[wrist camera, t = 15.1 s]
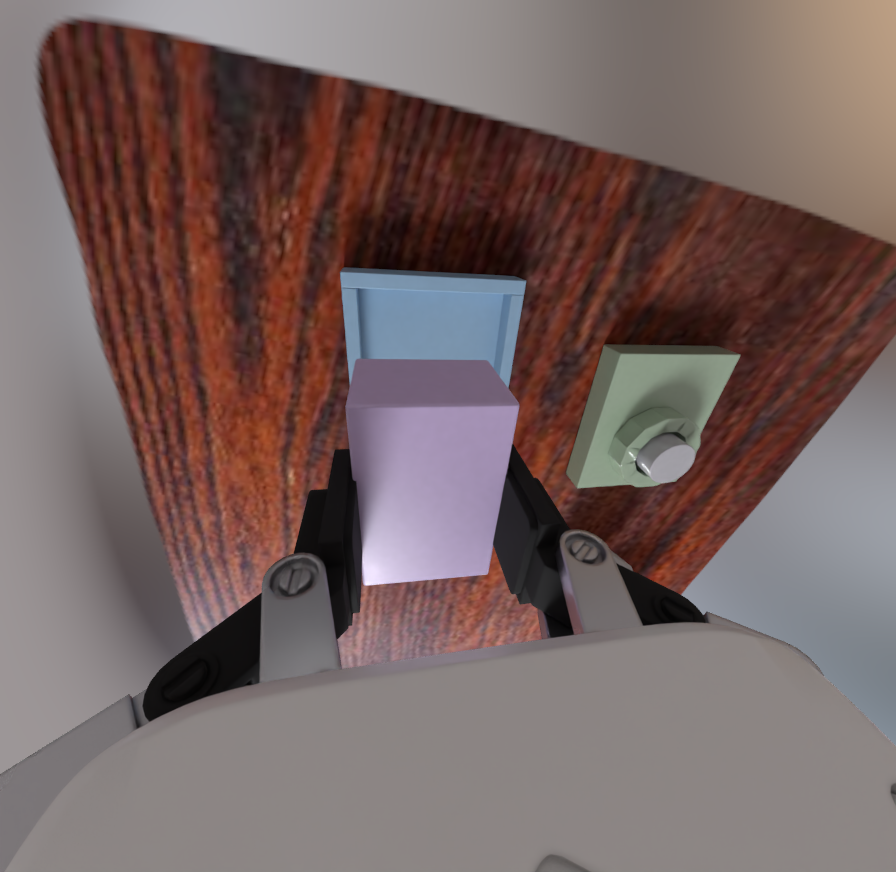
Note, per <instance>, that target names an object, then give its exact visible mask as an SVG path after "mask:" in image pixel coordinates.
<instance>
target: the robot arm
mask: <svg viewBox="0 0 896 872" xmlns="http://www.w3.org/2000/svg"><path fill="white" fill-rule="evenodd" d="M493 545H494V548H495V551H496V554H497V557H498V559H499V562H500V565H501V568H502V570H503V573H504V576H505V579H506V582H507V584H508V587H509V590H510V592H511V594H516V595H517V598H518V601H519V604H527V603H531V604H532V605H533V606H534V607H536V608H538V618H539V624H540V630H541V636H542V640H535V641H528V642H521V643H514V644H507V645H500V646H493V647H486V648H479V649H473V650H466V651H459V652H452V653H445V654H438V655H432V656H425V657H418V658H412V659H405V660H399V661H392V662H385V663H379V664H372V665H365V666H359V667H352V668H346V669H342V667H341V660H340V654H339V647H338V641H337V639H338V638H339V637H340V636H341V635H342V634H343V633H344V632H345V631H346V630H347V629H348V626H350V625H352V618H353V613H359V612H360V598H361V575H362V542H361V530H360V518H359V506H358V494H357V482H356V481H354V480H353V478H352V468H351V458H350V449H340V450H335V452H334V458H333V463H332V469H331V474H330V479H329V485H328V489H323V490H311V491H310V492H309V495H308V499H307V503H306V507H305V511H304V515H303V519H302V523H301V527H300V531H299V535H298V539H297V543H296V547H295V551H294V554H291V555H289V556H286V557H283V558H282V559H280V560H279V561H277V562H275V563H274V564H273V565H272V566H271V567H270V568H269V569H268V571H267V572H266V574H265V576H264V578H263V582H262V593H261V594H259V595H258V596H257V597H255V598H254V599H252V600H251V601H250V602H248V603H247V604H246V605H244V606H243V607H242V608H240V609H239V610H238V611H236V612H235V613H234V614H232V615H231V616H229V617H228V618H227V619H225V620H224V621H223V622H221V623H220V624H219V625H217V626H216V627H215V628H213V629H212V630H211V631H209V632H208V633H206V634H205V635H204V636H202V637H201V638H200V639H198V640H197V641H196V642H194V643H193V644H192V645H190V646H189V647H188V648H186V649H185V650H184V651H182V652H181V653H179V654H178V655H177V656H175V657H174V658H173V659H171V660H170V661H169V662H168V663H167V664H166V665H165V666H163V667H162V668H161V669H160V670H159V672H158V673H157V674H156V675H155V677H154V678H153V679H152V681H151V682H150V684H149V686H148V688H147V689H146V690H144V691H143V692H141V693H139V694H138V695H136V696H135V697H133V698H132V697H131V696H130V695H129V694H128V695H127V696H125V697H124V698H122V699H120V700H119V701H117V702H116V703H114V704H112V705H111V706H109V707H107V708H106V709H104V710H103V711H101V712H100V713H98V714H96V715H95V716H93V717H91V718H90V719H88V720H87V721H85V722H83V723H82V724H80V725H79V726H77V727H75V728H74V729H72V730H71V731H69V732H67V733H66V734H64V735H63V736H61V737H59V738H58V739H56V740H55V741H53V742H51V743H50V744H48V745H46V746H45V747H43V748H42V749H40V750H38V751H37V752H35V753H34V754H32V755H30V756H29V757H27V758H26V759H24V760H22V761H21V762H19V763H18V764H16V765H14V766H13V767H11V768H10V769H8V770H6V771H5V772H3V773H2V774H0V872H896V746H895V745H894V744H893V743H892V742H891V741H890V740H889V739H888V738H887V737H886V736H885V735H884V734H883V733H882V732H881V731H880V730H879V729H878V728H877V727H876V726H875V725H874V724H873V723H872V722H871V721H870V720H869V719H868V718H867V717H866V716H865V715H864V714H863V713H862V712H861V711H860V710H859V709H858V708H857V707H856V706H855V705H854V704H853V703H852V702H851V701H850V700H849V699H848V698H847V697H846V696H845V695H843V694H842V693H841V692H840V691H839V690H838V689H837V688H836V687H835V686H834V685H832V684H831V682H829V681H828V680H827V679H826V678H825V677H824V675H823V674H822V672H821V670H820V669H819V667H818V666H817V665H816V664H815V663H814V662H813V661H812V660H811V659H810V658H809V657H808V656H807V655H805V654H804V653H803V652H801V651H800V650H799V649H797V648H796V647H793V646H792V645H790V644H788V643H786V642H783V641H781V640H778V639H776V638H773V637H771V636H768V635H766V634H763V633H760V632H758V631H755V630H752V629H750V628H748V627H745V626H742V625H740V624H737V623H735V622H732V621H730V620H727V619H725V618H722V617H720V616H717V615H714V614H712V613H709V612H706V613H705V615H702V613H701V612H700V611H699V610H698V608H697V607H696V606H695V605H694V604H693V603H691V602H690V601H689V600H688V599H686V598H685V597H683V596H682V595H680V594H678V593H676V592H674V591H672V590H670V589H668V588H666V587H664V586H662V585H660V584H658V583H656V582H654V581H652V580H650V579H648V578H646V577H644V576H642V575H640V574H638V573H636V572H634V571H632V570H630V569H627V568H625V567H623V566H621V565H619V564H617V563H616V562H615V560H614V557H613V555H612V553H611V550H610V549H609V547H608V546H607V544H606V543H605V542H604V541H603V540H602V539H601V538H599V537H598V536H596V535H595V534H593V533H590V532H588V531H584V530H579V529H573V530H570V529H569V527H568V525H567V524H566V522H565V521H564V519H563V517H562V516H561V514H560V513H559V511H558V509H557V508H556V506H555V505H554V503H553V501H552V500H551V498H550V497H549V495H548V494H547V492H546V490H545V489H544V487H543V486H542V484H541V482H540V481H539V480H538V479H537V478H533V476H532V474H531V473H530V471H529V470H528V468H527V466H526V465H525V463H524V461H523V460H522V458H521V456H520V455H519V453H518V452H517V450H516V448H515V447H514V445H513V444H512V448H511V453H510V458H509V464H508V469H507V474H506V478H505V483H504V488H503V493H502V498H501V504H500V509H499V514H498V519H497V524H496V529H495V535H494V540H493Z"/></svg>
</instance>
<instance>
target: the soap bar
mask: <svg viewBox="0 0 896 872" xmlns="http://www.w3.org/2000/svg"><path fill="white" fill-rule="evenodd" d="M345 408H346V418H347V428H348V438H349V448H350V458H351V468H352V478H353V480H354V481H356V482H357V494H358V506H359V518H360V530H361V542H362V578H363V584H364V585H377V584H388V583H399V582H410V581H420V580H431V579H442V578H453V577H464V576H475V575H486V574H488V570H489V565H490V560H491V554H492V549H493V540H494V535H495V529H496V524H497V519H498V514H499V509H500V504H501V498H502V493H503V488H504V483H505V478H506V474H507V469H508V464H509V458H510V453H511V448H512V442H513V437H514V432H515V426H516V421H517V416H518V410H519V403H518V401H517V400H516V398H515V397H514V396H513V394H512V393H511V392H510V390H509V389H508V387H507V386H506V385H505V383H504V382H503V381H502V379H501V378H500V377H499V375H498V374H497V372H496V371H495V370H494V368H493V367H492V366H491V364H490V363H489V361H487V360H424V359H356V361H355V365H354V370H353V375H352V379H351V384H350V389H349V393H348V398H347V403H346V407H345Z"/></svg>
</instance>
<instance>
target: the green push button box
mask: <svg viewBox="0 0 896 872" xmlns="http://www.w3.org/2000/svg"><path fill="white" fill-rule="evenodd" d="M739 358H740V354H738V353H735V352H732V351H729V350H727V349H724V348H721V347H719V346H681V345H611V344H605V345H604V346H603V350H602V353H601V357H600V360H599V363H598V367H597V370H596V373H595V377H594V380H593V383H592V387H591V390H590V393H589V397H588V400H587V403H586V407H585V410H584V413H583V417H582V420H581V424H580V427H579V430H578V434H577V437H576V440H575V444H574V447H573V450H572V454H571V457H570V460H569V464H568V467H567V470H566V474H567V476H568V477H569V478H570V480H571V481H572V482H573V484H574V485H575V486H576V488H587V487H602V486H617V485H633V486H635V487H648V486H657V485H659V484H661V483H658V482H655V481H653V480H652V479H651V478H650V477H649V476H648V475H647V474H646V473H645V472H644V471H642V470H641V469H640V468H639V467H638V465H637V462H636V458H637V455H638V453H639V450H640V449H641V448H642V447H643V446H644V445H645V444H646V443H647V442H648V441H649V440H650V439H651V438H654V437H656V436H658V435H660V434H662V433H672V434H675V435H676V436H678V437H679V438H680V439H682V440H683V441H684V442H686V443H687V444H689V445H690V446H691V447H692V448H693V449H694V451H695V454H696V452H697V450H698V448H699V446H700V443H701V442H700V434H701V432H702V430H703V428H704V426H705V424H706V422H707V420H708V418H709V416H710V414H711V412H712V410H713V408H714V406H715V404H716V403H717V401H718V399H719V397H720V395H721V393H722V391H723V389H724V387H725V385H726V383H727V381H728V379H729V377H730V375H731V373H732V371H733V369H734V367H735V365H736V363H737V361H738V359H739ZM676 481H677V479H676V480H674V481H671V482H676Z"/></svg>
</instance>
